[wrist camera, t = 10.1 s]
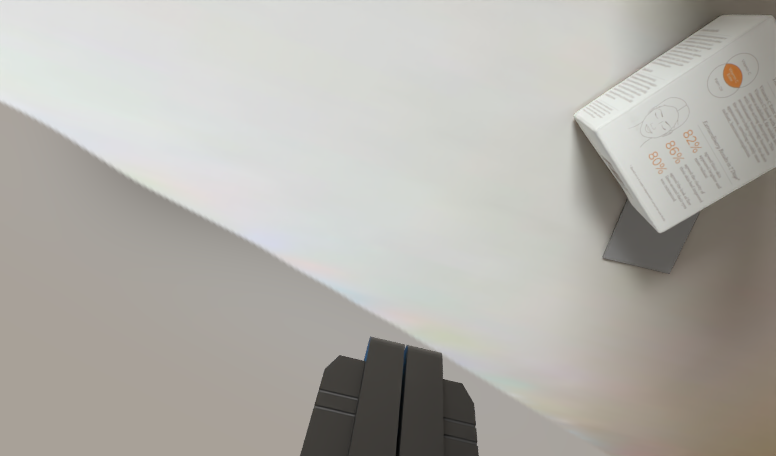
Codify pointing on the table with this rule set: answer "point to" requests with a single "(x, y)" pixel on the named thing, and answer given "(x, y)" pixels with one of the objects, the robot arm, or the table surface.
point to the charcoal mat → (646, 241)
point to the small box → (691, 120)
